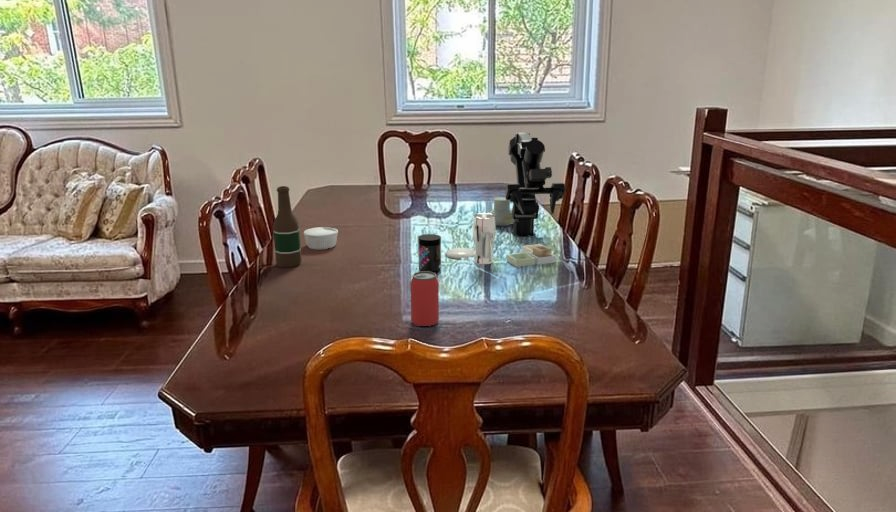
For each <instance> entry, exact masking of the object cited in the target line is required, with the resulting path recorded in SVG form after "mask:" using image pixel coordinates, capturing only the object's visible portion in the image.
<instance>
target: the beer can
mask: <svg viewBox="0 0 896 512" xmlns="http://www.w3.org/2000/svg"><path fill="white" fill-rule="evenodd" d="M409 285H410V290H409V291H410V320H411V321H410V322H411V323H412V324H413V325H414V326H416V325H417V327H420V326H429V327H432V326H431V325H433V326H435V325H437V324H438V323H439V321H440V318H439V317H440V316H439V315H440V314H439V313H440V311H439V310H440V309H439V307H440V306H439V304H440V301H439V299H440V298H439V297H440V296H439V292H440V291H439V288H440V287H439V286H440V285H439V280H438V278H437V273H433V272H429V271H416V272H414V273H413V274H412V276H411V281H410V284H409ZM434 324H435V325H434Z"/></svg>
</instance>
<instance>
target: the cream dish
mask: <svg viewBox="0 0 896 512" xmlns="http://www.w3.org/2000/svg"><path fill="white" fill-rule="evenodd" d="M538 246H544V245H543V244H541V243H535V244H527V245H522V252H521V253H524V252H525V253H527V254H528V252H533V247H538Z"/></svg>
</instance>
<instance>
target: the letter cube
mask: <svg viewBox="0 0 896 512" xmlns="http://www.w3.org/2000/svg"><path fill="white" fill-rule="evenodd" d="M551 254H552V248H551V247H547V246H545V245H543V246H538V247H533V255H535V256H537V257H538V258H540V257H547V256H551Z"/></svg>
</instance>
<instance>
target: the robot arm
mask: <svg viewBox="0 0 896 512" xmlns="http://www.w3.org/2000/svg"><path fill="white" fill-rule="evenodd" d="M545 147H546V146H545V144H544V143H543V142H542V141H540V140H539V138H538V137H531V133H530V132H529V131H518V132H515V135H514V137H513V138H511V139H510V140H509V143H508V150H507V151H508V152H507V154H508V156H509V157H510V158H509V159H510V162H511V163H512V164H513V165H514V166H515V176H516V183H507V185H506V188H505V191H504V198H506V200H510V203H513V204H512V209H511V210H512V217H513V219H515V220H514V222H513V223H512V225H513V226H512V231H511V233H512V234H513V235H515V236H516V237H519V238H526V237H533V236H536V233H535V232H534V228H535V220H537V219H538V218H539V210H540V205H539V204H538V203H539V202H538V201H537V198H536V195H549V206H550V212H551V215H554V214H555V213H554V212H555V209H556V208H555V207H556V203H557V202H559V201H560V200H562V199H563V198H564V195H565V192H566V190H567V188H566V184H565V183H564V182H553V183H552V184H551V186H550V187H544V186H545V185H546V181H547V179H551V178H552V177H553V171H552V170H553V169H552V167H551V166H546V167H544V168H542V167H541V162H542V161H543V156H544V153H545V152H546V148H545Z"/></svg>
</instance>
